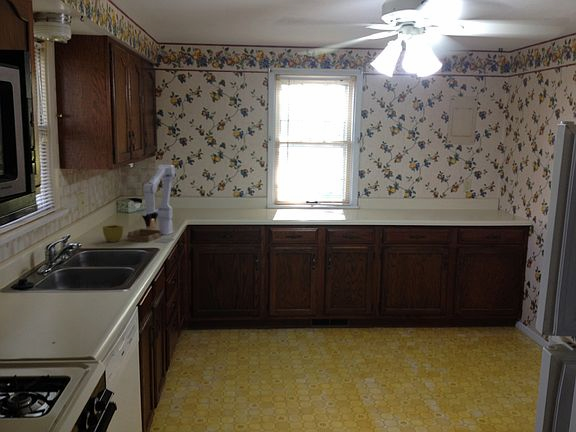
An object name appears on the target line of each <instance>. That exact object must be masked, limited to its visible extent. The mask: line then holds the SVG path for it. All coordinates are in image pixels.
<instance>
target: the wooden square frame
mask: <svg viewBox="0 0 576 432" xmlns="http://www.w3.org/2000/svg"><path fill="white" fill-rule="evenodd" d="M127 233H128V234H127V235H126V237H127V238H126V240H127V241H133V242H134V241H135V242H143V241H144V242H145V243H149V241H150V242H152V241H156V240H159V239H162V234H161V230H159V229H146V228H138V229H134V230H131V231H129V232H127Z"/></svg>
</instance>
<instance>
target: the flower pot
mask: <svg viewBox="0 0 576 432" xmlns="http://www.w3.org/2000/svg"><path fill="white" fill-rule="evenodd" d="M123 230H124V226H121V225H118V224H112V225H105V226H103V225H102V231H103V236H104V239H105V240H106V242H110V243H115V242H120V240H121V239H122V237H123V232H124V231H123Z"/></svg>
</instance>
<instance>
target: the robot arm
mask: <svg viewBox="0 0 576 432" xmlns="http://www.w3.org/2000/svg"><path fill="white" fill-rule="evenodd" d="M156 171H157V172H156V173H155V175H154V176H151V178H150V179H149V181H148V182H147V183H145V184H143V187H142V192H143V196H144V205H145V206H144V208H145V210H143V211H142V212H141V217H142V218H143V221H144V223H145V226H146V227H150V220H151V218H154V221H155V223H156V220H157V221H158V230H161V235H165V236H168V235H171V234H173V233H174V230H173V228H174V227H173V224H174V223H173V221H172V218H173V215H174V214H173V212H174V211H173V210H174V209H173V207H172V206H170V199H171V190H172V184H173V179H175V174H176V168H175V166H174V165H173V164H158V166H157V169H156ZM161 179H162V180H163V186H162V194H161V202H160V204H159V205H158V206H156V198H155V195H156V194H157V193H156V192H157V189H158V186H159V185H160V183H161ZM146 227H145V228H146Z"/></svg>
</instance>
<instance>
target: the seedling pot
mask: <svg viewBox="0 0 576 432" xmlns="http://www.w3.org/2000/svg"><path fill="white" fill-rule="evenodd" d="M155 227H156V222H155V221H154V218H151V220H150V227H145V229H150V230H156V229H155Z"/></svg>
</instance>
